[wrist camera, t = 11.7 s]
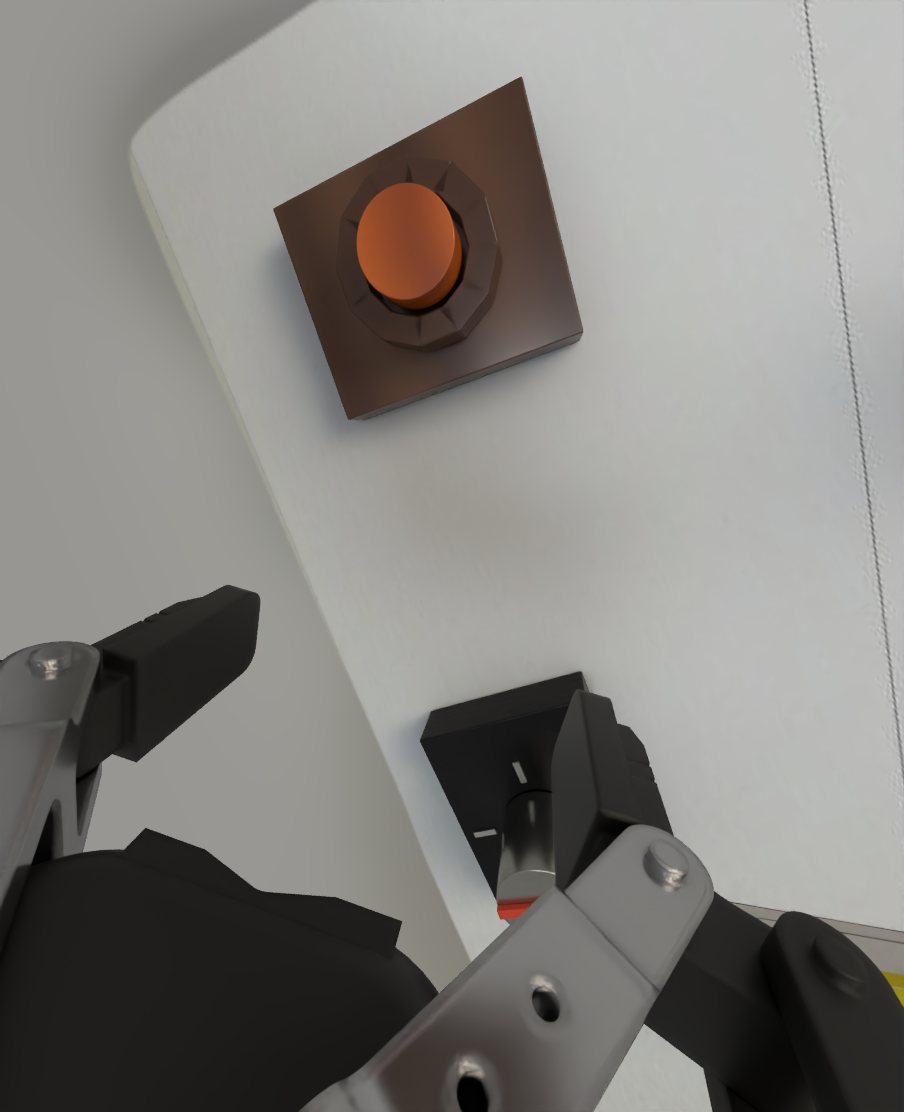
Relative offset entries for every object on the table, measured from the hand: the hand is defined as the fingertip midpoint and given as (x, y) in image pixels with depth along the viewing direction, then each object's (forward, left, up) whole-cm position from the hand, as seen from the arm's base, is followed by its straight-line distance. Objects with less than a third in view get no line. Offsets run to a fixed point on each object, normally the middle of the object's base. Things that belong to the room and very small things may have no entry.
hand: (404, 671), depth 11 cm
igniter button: (-6, +11, -12) cm, 18 cm away
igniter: (-6, +11, -16) cm, 20 cm away
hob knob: (+9, -15, -13) cm, 21 cm away
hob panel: (+9, -15, -16) cm, 23 cm away
